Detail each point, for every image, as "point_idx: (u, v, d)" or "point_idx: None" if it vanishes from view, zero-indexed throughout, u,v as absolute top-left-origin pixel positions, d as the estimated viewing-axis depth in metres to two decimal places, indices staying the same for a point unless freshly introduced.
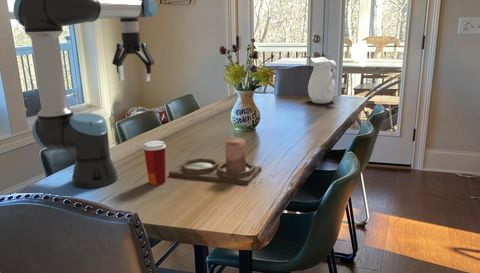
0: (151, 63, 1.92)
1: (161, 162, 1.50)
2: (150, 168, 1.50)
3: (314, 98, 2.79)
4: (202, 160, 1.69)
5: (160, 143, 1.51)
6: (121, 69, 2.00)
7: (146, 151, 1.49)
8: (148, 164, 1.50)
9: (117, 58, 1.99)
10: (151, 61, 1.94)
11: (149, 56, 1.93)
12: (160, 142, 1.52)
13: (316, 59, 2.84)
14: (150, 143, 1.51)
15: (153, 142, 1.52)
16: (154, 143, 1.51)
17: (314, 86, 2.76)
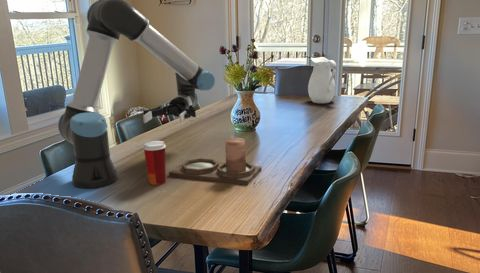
0: None
1: (161, 162, 1.50)
2: (150, 168, 1.50)
3: (314, 98, 2.79)
4: (202, 160, 1.69)
5: (160, 143, 1.51)
6: (150, 114, 1.65)
7: (146, 151, 1.49)
8: (148, 164, 1.50)
9: None
10: None
11: None
12: (160, 142, 1.52)
13: (316, 59, 2.84)
14: (150, 143, 1.51)
15: (153, 142, 1.52)
16: (154, 143, 1.51)
17: (314, 86, 2.76)
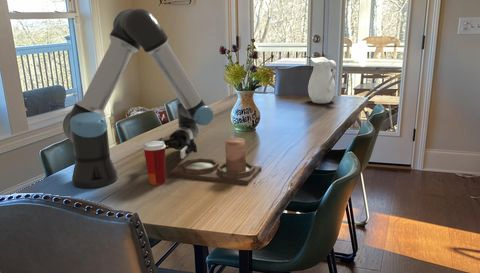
0: (196, 145, 1.63)
1: (161, 162, 1.50)
2: (150, 168, 1.50)
3: (314, 98, 2.79)
4: (202, 160, 1.69)
5: (160, 143, 1.51)
6: None
7: (146, 151, 1.49)
8: (148, 164, 1.50)
9: None
10: None
11: None
12: (160, 142, 1.52)
13: (316, 59, 2.84)
14: (150, 143, 1.51)
15: (153, 142, 1.52)
16: (154, 143, 1.51)
17: (314, 86, 2.76)
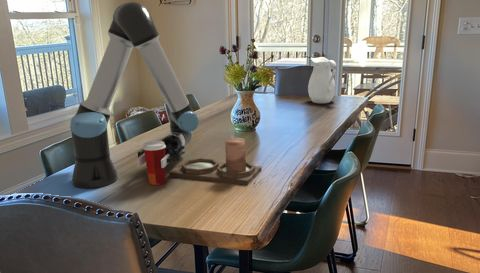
0: (178, 153, 1.53)
1: None
2: (150, 168, 1.50)
3: (314, 98, 2.79)
4: (202, 160, 1.69)
5: (160, 143, 1.51)
6: (144, 157, 1.53)
7: (146, 151, 1.49)
8: (148, 164, 1.50)
9: None
10: None
11: (180, 153, 1.57)
12: (160, 142, 1.52)
13: (316, 59, 2.84)
14: (150, 143, 1.51)
15: (153, 142, 1.52)
16: (154, 143, 1.51)
17: (314, 86, 2.76)
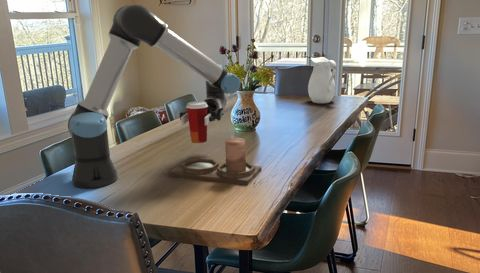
0: (219, 113, 1.59)
1: (204, 121, 1.56)
2: (193, 127, 1.56)
3: (314, 98, 2.79)
4: (202, 160, 1.69)
5: (202, 102, 1.56)
6: (187, 117, 1.59)
7: (189, 110, 1.55)
8: (191, 122, 1.56)
9: None
10: None
11: None
12: (202, 102, 1.58)
13: (316, 59, 2.84)
14: (193, 103, 1.57)
15: (195, 102, 1.58)
16: (197, 102, 1.57)
17: (314, 86, 2.76)
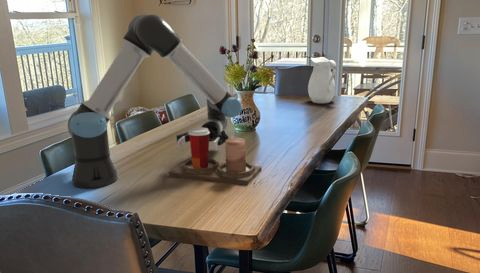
0: None
1: (206, 147, 1.59)
2: (195, 153, 1.59)
3: (314, 98, 2.79)
4: None
5: (204, 129, 1.59)
6: (183, 140, 1.63)
7: (192, 136, 1.58)
8: (193, 149, 1.59)
9: None
10: None
11: None
12: (204, 128, 1.61)
13: (316, 59, 2.84)
14: (195, 129, 1.59)
15: (197, 128, 1.61)
16: (199, 129, 1.60)
17: (314, 86, 2.76)
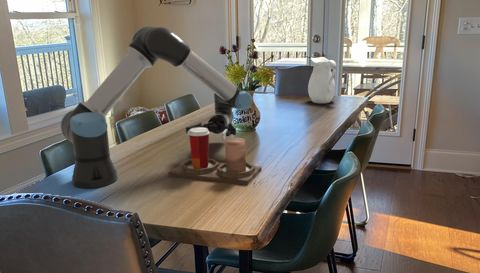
0: (235, 128, 1.74)
1: (205, 148, 1.59)
2: (195, 153, 1.59)
3: (314, 98, 2.79)
4: None
5: (204, 129, 1.59)
6: None
7: (192, 137, 1.57)
8: (193, 149, 1.59)
9: None
10: None
11: None
12: (204, 128, 1.60)
13: (316, 59, 2.84)
14: (195, 129, 1.59)
15: (197, 128, 1.61)
16: (199, 129, 1.59)
17: (314, 86, 2.76)
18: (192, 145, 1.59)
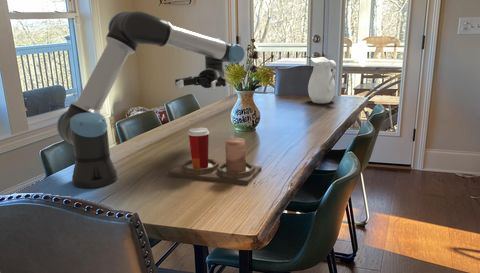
0: None
1: (205, 148, 1.59)
2: (195, 153, 1.59)
3: (314, 98, 2.79)
4: None
5: (204, 129, 1.59)
6: (182, 82, 1.72)
7: (191, 137, 1.58)
8: (193, 149, 1.59)
9: None
10: None
11: None
12: (204, 128, 1.60)
13: (316, 59, 2.84)
14: (194, 129, 1.59)
15: (197, 128, 1.61)
16: (198, 129, 1.59)
17: (314, 86, 2.76)
18: (192, 145, 1.59)
